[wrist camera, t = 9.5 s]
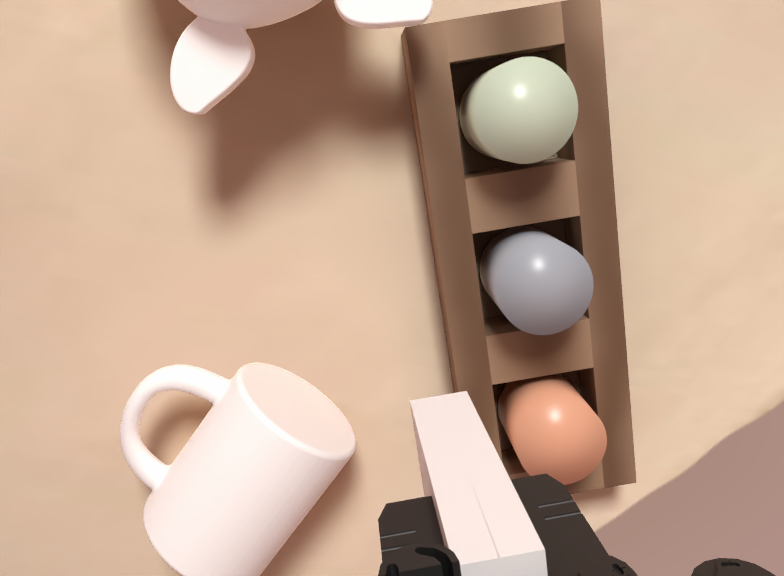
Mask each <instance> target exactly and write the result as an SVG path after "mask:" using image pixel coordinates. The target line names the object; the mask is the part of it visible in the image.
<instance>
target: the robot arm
mask: <svg viewBox="0 0 784 576" xmlns="http://www.w3.org/2000/svg"><path fill="white" fill-rule="evenodd" d="M410 405H411V411H412V418H413V424H414V431H415V437H416V444H417V450H418V457H419V463H420V470H421V476H422V483H423V489H424V495H425V497H421V498H416V499H410V500H405V501H399V502H393V503H388V504H386V505H385V507H384V509H383V511H382V513H381V515H380V517H379V519H378V522H379V532H380V542H381V551H382V561H383V562H382V564H381V565H380V570H379V575H378V576H637V574H636V573H635V572H634V571H633V570H632V569H631V568H630V567H629V566H628V565H627V564H626V563H625V562H623V561H621V560H619V559H617V558H615V557H613V556H609V555H608V553H607V552H606V550H605V549H604V547H603V546H602V544H601V542H600V541H599V539H598V538H597V536H596V535H595V533H594V531H593V530H592V528H591V527H590V525H589V524H588V522H587V521H586V519H585V517H584V516H583V514H581V512H580V510H579V508H578V506H577V505H576V503H575V502H573V499H572V497H571V495H570V494H569V492H568V491H567V489H566V488H565V486H564V485H563V484H562V483H561V482H559V481H557V480H556V479H554V478H553V477H551V476H549V475H548V474H546V473H545V474H540V475H534V476H528V477H523V478H517V479H512V480H510V478H509V476H508V474H507V472H506V470H505V467H504V465H503V463H502V461H501V459H500V457H499V455H498V453H497V451H496V449H495V447H494V445H493V443H492V441H491V439H490V437H489V435H488V433H487V431H486V429H485V427H484V425H483V423H482V421H481V419H480V417H479V415H478V413H477V411H476V409H475V407H474V405H473V403H472V401H471V399H470V397H469V395H468V393H467V391H463V392H457V393H451V394H446V395H440V396H434V397H428V398H422V399H417V400H411V401H410ZM691 576H775V575H774V574H772V573H771V572H769V571H767V570H765V569H763V568H762V567H760V566H758V565H756V564H753V563H750V562H746V561H742V560H739V559H727V558H718V559H713V560H709V561H705V562H703V563H702V564H700V565H699V566H697V567H696V568H694V571H693V573H692V575H691Z"/></svg>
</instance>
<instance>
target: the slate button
mask: <svg viewBox="0 0 784 576" xmlns="http://www.w3.org/2000/svg"><path fill="white" fill-rule="evenodd" d="M480 278H481V282H482V285H483V287H484V289H485V290H486V292H487V293H488V295H489V296H490V297H491V298H492V300H493V301H494V302H495V304H496V305H497V306H498V307H499V309H500V310H501V311H502V313H503V314H504V315H505V316H506V318H507V319H508V320H509V321H510V322H511V323H512V324H513V325H514V326H515V327H517V328H518V329H520V330H522V331H524V332H527V333H530V334H535V335H551V334H555V333H558V332H561V331H564V330H565V329H567V328H569V327H571V326H572V325H574V324H575V323H576V322H577V321H578V320H579V319H580V318H581V317H582V316H583V314H584V313H585V312H586V310H587V308H588V306H589V304H590V301H591V299H592V295H593V287H594V286H593V275H592V272H591V269H590V267H589V264H588V263H587V261H586V260H585V258H584V257H583V256H582V255H581V254H580V253H579V252H578V251H577V250H575V249H574V248H572V247H570V246H569V245H567V244H565V243H563V242H561V241H560V240H558V239H556V238H554V237H552V236H551V235H549V234H547V233H545V232H544V231H542V230H539V229H537V228H534V227H528V226H520V227H514V228H510V229H507V230H505V231H503V232H501V233H500V234H498V235H497V236H496V237H495V238H493V239H492V240H491V242H490V243H489V244H488V245H487V247H486V248H485V250H484V252H483V255H482V258H481V262H480Z"/></svg>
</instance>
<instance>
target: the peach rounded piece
mask: <svg viewBox="0 0 784 576" xmlns="http://www.w3.org/2000/svg"><path fill="white" fill-rule="evenodd" d="M498 415H499V418H500V421H501V423H502V425H503V427H504V429H505V431H506V434H507V436H508V438H509V440H510V442H511V444H512V446H513V448H514V450H515V452H516V454H517V456H518V458H519V460H520V462H521V464H522V466H523V468H524V469H525V471H526V472H527V473H528V474H529V475H530V476H534V475H540V474H545V473H546V474H548V475H549V476H551V477H553V478H554V479H556V480H557V481H559V482H561V483H562V484H563V485H567V484H572V483H575V482H577V481H580V480H582V479H583V478H585V477H587V476H588V475H589V474H590V473H592V472H593V471H594V470H595V469H596V468H597V466H598V465H599V464H600V462H601V460H602V459H603V456H604V454H605V451H606V446H607V435H606V430H605V427H604V425H603V423H602V421H601V420H600V418H599V417H598V416H597V415H596V413H595V412H594V411H593V410H592V409H591V407H590V406H589V405H588V404H587V403H586V401H585V400H584V399H583V398H582V397H581V395H580V394H579V393H578V392H577V391H576V389H575V388H574V387H573V386H572V384H571V383H570V382H569V381H568V380H567V379H566V378H565V377H564V376H563V375H561V374H560V373H558V374H552V375H546V376H541V377H535V378H529V379H523V380H517V381H512V382H508V383H507V384H506V385H505V387H504V388H503V390H502V392H501V394H500V397H499V400H498Z"/></svg>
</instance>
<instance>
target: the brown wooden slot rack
mask: <svg viewBox="0 0 784 576" xmlns="http://www.w3.org/2000/svg"><path fill="white" fill-rule="evenodd" d="M401 38H402V45H403V52H404V58H405V65H406V72H407V79H408V85H409V92H410V99H411V105H412V112H413V119H414V126H415V132H416V139H417V146H418V152H419V159H420V166H421V173H422V179H423V186H424V193H425V199H426V206H427V213H428V220H429V226H430V233H431V240H432V247H433V253H434V260H435V267H436V273H437V280H438V287H439V294H440V300H441V307H442V314H443V320H444V327H445V334H446V341H447V347H448V354H449V361H450V367H451V374H452V381H453V388H454V393H457V392H463V391H467V393H468V395H469V397H470V399H471V401H472V403H473V405H474V407H475V409H476V411H477V413H478V415H479V417H480V419H481V421H482V423H483V425H484V427H485V429H486V431H487V433H488V435H489V437H490V439H491V441H492V443H493V445H494V447H495V449H496V451H497V453H498V455H499V457H500V459H501V461H502V463H503V465H504V467H505V470H506V472H507V474H508V476H509V478H510V480H512V479H517V478H523V477H528V476H530V475H529V474H528V473H527V472H526V471H525V469H524V468H523V466H522V464H521V462H520V460H519V458H518V456H517V454H516V452H515V450H514V448H512V449H507V450H501V447H500V440H499V432H498V425H497V417H496V410H495V402H494V394H493V387H492V385H494V384H500V383H506V382H512V381H517V380H523V379H529V378H535V377H541V376H546V375H552V374H558V373H564V372H570V371H575V370H579V381H580V391H581V397H582V398H583V399H584V400H585V401H586V403H587V404H588V405H589V406H590V407H591V409H592V410H593V411H594V412H595V413H596V415H597V416H598V417H599V418H600V420H601V421H602V423H603V425H604V427H605V430H606V435H607V446H606V451H605V454H604V456H603V459H602V460H601V462H600V464H599V465H598V466H597V468H596V469H595V470H594V471H593V472H592V473H590V474H589V475H588V476H587V477H585V478H583V479H582V480H580V481H577V482H575V483H572V484H567V485H564V486H565V488H566V489H567V491H568V492H569V494H573V493H578V492H584V491H590V490H596V489H601V488H607V487H613V486H619V485H624V484H630V483H636V471H635V458H634V445H633V431H632V418H631V405H630V391H629V378H628V365H627V351H626V338H625V325H624V311H623V298H622V285H621V271H620V258H619V245H618V231H617V218H616V205H615V191H614V178H613V165H612V151H611V138H610V125H609V111H608V98H607V85H606V71H605V58H604V45H603V31H602V18H601V5H600V0H567V1H561V2H555V3H549V4H543V5H537V6H531V7H525V8H519V9H513V10H507V11H501V12H495V13H489V14H483V15H477V16H471V17H465V18H459V19H453V20H447V21H441V22H435V23H429V24H423V25H417V26H411V27H405V29H404V31H403V33H402V35H401ZM544 50H548V56H549V61H551V62H553V63H554V64H556V65H557V66H559V67H560V68H561V69H562V70H563V71H564V72H565V73H566V74H567V75H568V77H569V78H570V80H571V81H572V83H573V85H574V88H575V91H576V94H577V99H578V117H577V121H576V125H575V128H574V130H573V132H572V134H571V136H570V138H569V139H568V141H567V142H566V143H565V145H564V146H563V147H562V148H561V149H560V150H559V151H558V158H555V159H549V160H543V161H540V162H536V163H530V164H519V165H513V166H507V167H501V168H495V169H489V170H484V171H478V172H472V173H466V174H464V168H463V160H462V153H461V145H460V138H459V130H458V122H457V115H456V107H455V100H454V92H453V85H452V77H451V70H450V66H454V65H460V64H466V63H472V62H478V61H484V60H490V59H496V58H502V57H508V56H514V55H520V54H526V53H532V52H538V51H544ZM562 218H564V224H565V234H566V244H567V245H569V246H570V247H572V248H574V249H575V250H577V251H578V252H579V253H580V254H581V255H582V256H583V257H584V258H585V260H586V261H587V263H588V264H589V267H590V269H591V272H592V275H593V286H594V287H593V295H592V299H591V301H590V304H589V306H588V308H587V310H586V312H585V313H584V314H583V316H582V317H581V318H580V319H579V320H578V321H577V322H576V323H575V324H574V325H572V326H571V327H569V328H567V329H565V330H564V331H561V332H558V333H555V334H551V335H535V334H530V333H527V332H524V331H522V330H520V329H518V328H517V327H515V326H514V325H513V324H512V323H511V322H510V321H509V320H508V319H507V318H506V316H504V317H498V318H492V319H486V320H484V319H483V311H482V304H481V296H480V289H479V281H478V274H477V266H476V258H475V251H474V243H473V236H472V234H474V233H480V232H486V231H492V230H497V229H503V228H509V227H515V226H521V225H527V224H533V223H539V222H545V221H550V220H556V219H562Z"/></svg>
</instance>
